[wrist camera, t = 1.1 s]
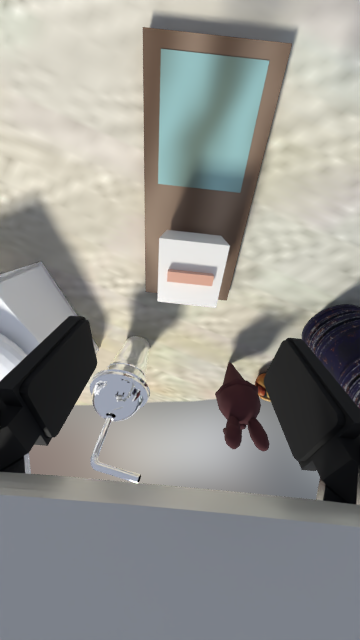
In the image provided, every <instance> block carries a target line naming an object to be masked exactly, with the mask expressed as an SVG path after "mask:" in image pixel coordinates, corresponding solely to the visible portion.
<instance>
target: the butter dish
mask: <svg viewBox="0 0 360 640" xmlns="http://www.w3.org/2000/svg"><path fill="white" fill-rule="evenodd" d="M69 316H77V314H76V313H75V311H74V310H73V308H72V307H71V305H70V304H69V302H68V301H67V299H66V298H65V296H64V295H63V293H62V292H61V290H60V289H59V287H58V286H57V284H56V283H55V281H54V280H53V278H52V277H51V275H50V274H49V272H48V271H47V269H46V268H45V266H44V265H43V263H42V262H38V263H34V264H31V265H28V266H25V267H22V268H19V269H16V270H12V271H9V272H6V273H3V274H0V381H1V380H2V379H3V378H4V377H5V376H6V375H7V374H8V373H9V372H10V371H11V370H12V369H13V368H14V367H16V366H17V365H18V364H19V363H20V362H21V361H22V360H23V359H24V358H25V357H26V356H27V355H28V354H29V353H30V352H31V351H33V350H34V349H35V348H36V347H37V346H38V345H39V344H40V343H41V342H42V341H43V340H44V339H45V338H46V337H47V336H49V335H50V334H51V333H52V332H53V331H54V330H55V329H56V328H57V327H58V326H59V325H60V324H61V323H62V322H63V321H64V320H66V319H67V318H68V317H69ZM93 344H94V349H95V354H97V352H98V351H99V348H98V346H97V345H96V343H95V342H94V340H93Z"/></svg>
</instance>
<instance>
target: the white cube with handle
mask: <svg viewBox="0 0 360 640" xmlns="http://www.w3.org/2000/svg"><path fill="white" fill-rule="evenodd" d="M229 247H230V245H229V244H228V243H227V242H226V241H225V240H224V238H223V237H222V236H219V235H210V234H201V233H192V232H183V231H173V230H166V231H165V232H164V233H163V235H162V236H161V237H160V238H159V262H158V298H157V301H158V302H167V303H176V304H185V305H195V306H204V307H213V308H216V305H217V301H218V296H219V292H220V287H221V283H222V279H223V274H224V270H225V265H226V261H227V256H228V252H229Z"/></svg>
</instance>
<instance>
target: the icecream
mask: <svg viewBox="0 0 360 640" xmlns="http://www.w3.org/2000/svg"><path fill="white" fill-rule="evenodd" d="M215 395H216V398H217V402H218V406H219V409H220V411H221V412H222V414H223V415H224V416H225V417H226V419H227V420H228V421H227V424H226V428H224V429H223V432H224V434H225V441H226V444H227V445H228V446H230V447H231V448H232V449H236V448H237V447H239V446H240V443H241V438H242V435H241V434H242V429H245V428H246V425H248V430H249V433H250V437H251V438H252V440H253V442H254V444H255V446H256V447H257V448H258V449H259V450H261V451H266V450H268V448H269V441H268V437H267V434H266V432H265V431H264V429H263V427H262V426H261V424H260V423H259V422H258V420H257V419H256V417H257V415H258V414H259V412H260V406H261V404H260V400H259V396H258V387H257V386H255V385H253V384H251V383H249V382H248V381H245V380H244V379H243V378H242V376H241V375H240V374H239V372H238V371H237V370H236V369H235V367H234V366H233V365H232V363H228V366H227V370H226V374H225V378H224V382H223V385H222V386H221V387H220V389H219V390H218V391H217V392H216V394H215Z"/></svg>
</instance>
